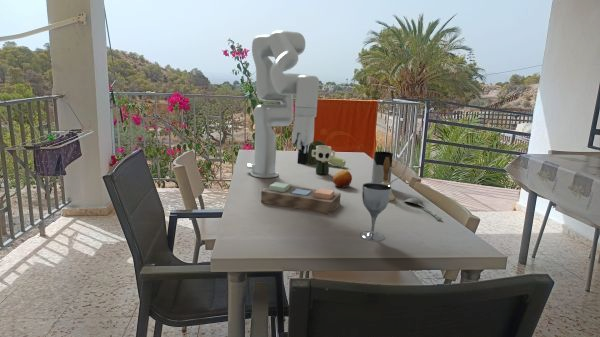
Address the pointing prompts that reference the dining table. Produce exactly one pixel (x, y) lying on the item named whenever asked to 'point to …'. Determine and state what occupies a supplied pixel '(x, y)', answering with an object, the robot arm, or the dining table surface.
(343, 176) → the fruit
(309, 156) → the green broccoli
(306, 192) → the slate key
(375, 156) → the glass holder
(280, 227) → the dining table surface
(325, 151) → the character mug
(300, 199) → the key panel
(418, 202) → the soupspoon
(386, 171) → the hand bell
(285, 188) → the sage key
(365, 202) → the wine glass
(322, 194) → the terracotta key
